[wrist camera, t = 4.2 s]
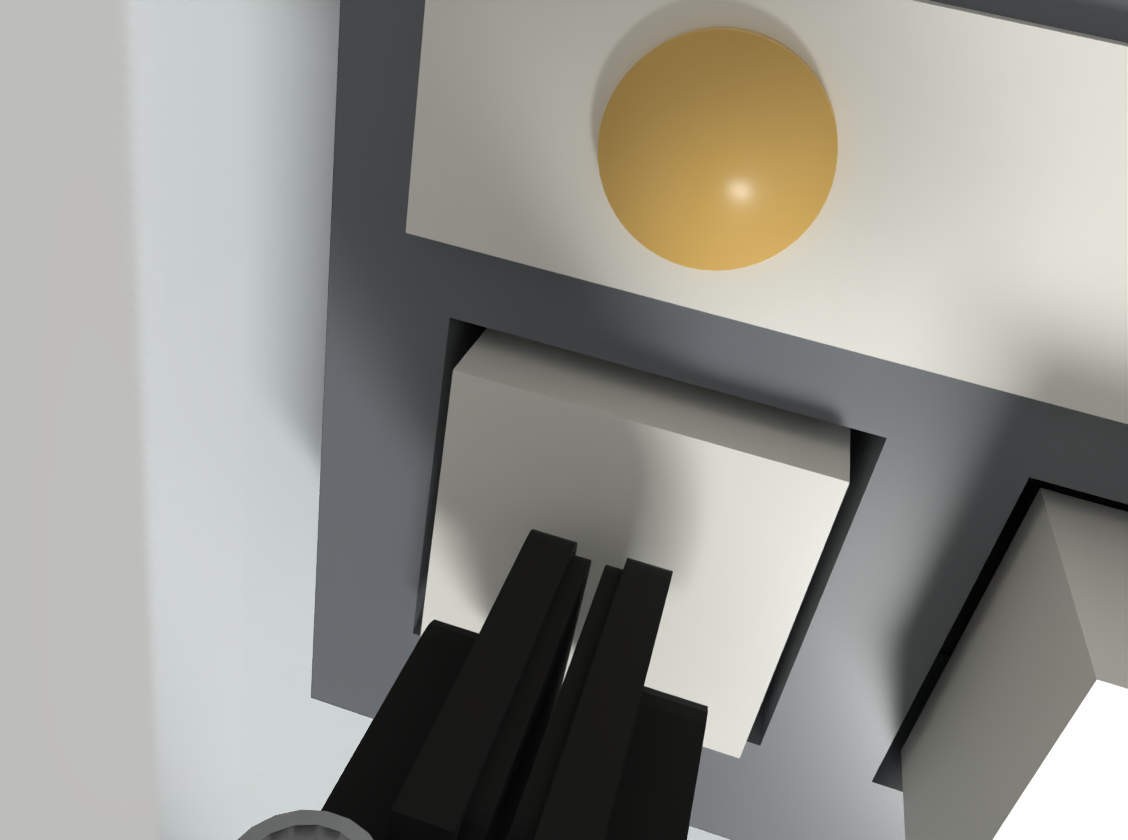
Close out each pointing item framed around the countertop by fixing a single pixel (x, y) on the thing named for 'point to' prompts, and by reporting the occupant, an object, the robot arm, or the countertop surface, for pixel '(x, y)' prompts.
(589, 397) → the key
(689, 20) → the board
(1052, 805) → the middle key
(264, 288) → the countertop surface
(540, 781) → the robot arm
